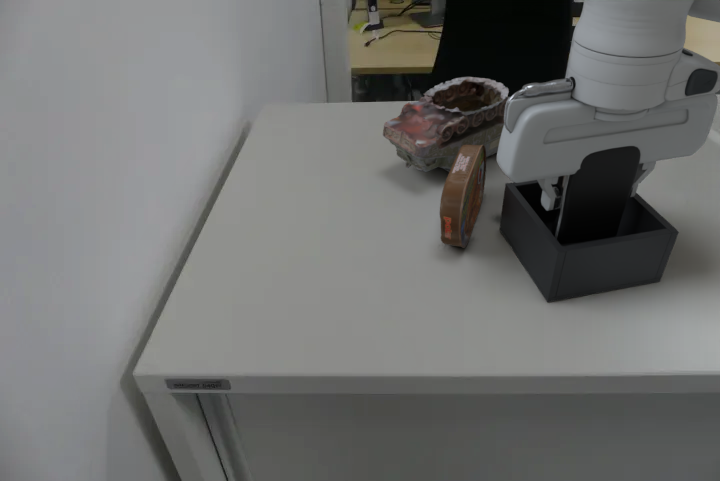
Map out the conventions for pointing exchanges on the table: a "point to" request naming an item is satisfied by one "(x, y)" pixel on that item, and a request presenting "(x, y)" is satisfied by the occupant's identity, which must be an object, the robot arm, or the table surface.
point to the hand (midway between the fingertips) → (587, 200)
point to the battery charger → (596, 195)
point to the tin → (463, 195)
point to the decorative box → (449, 122)
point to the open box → (584, 246)
